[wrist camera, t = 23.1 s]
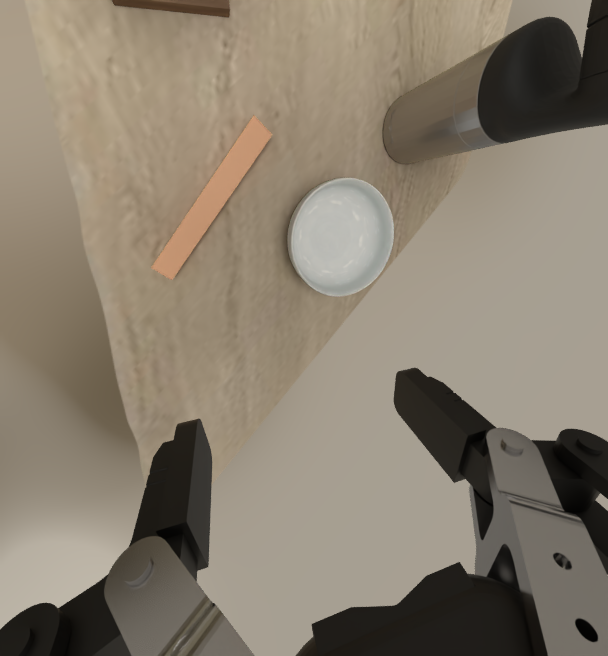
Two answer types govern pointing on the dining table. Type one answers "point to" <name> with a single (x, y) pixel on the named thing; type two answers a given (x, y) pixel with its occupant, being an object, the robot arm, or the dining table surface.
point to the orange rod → (213, 198)
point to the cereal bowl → (341, 236)
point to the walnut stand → (181, 6)
